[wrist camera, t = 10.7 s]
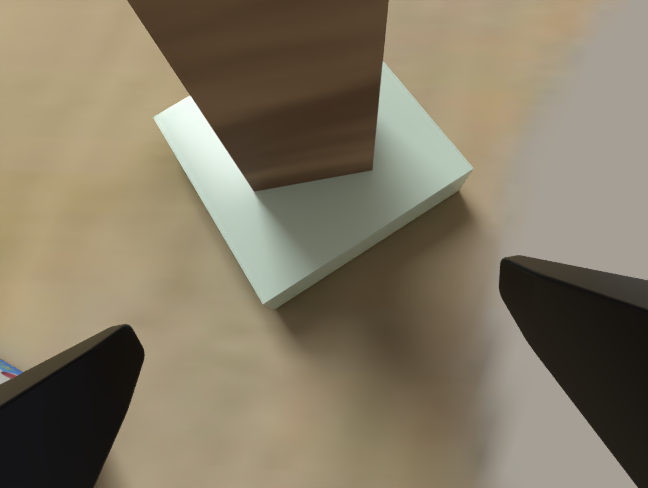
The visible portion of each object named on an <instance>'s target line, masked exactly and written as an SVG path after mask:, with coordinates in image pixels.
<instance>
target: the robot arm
mask: <svg viewBox="0 0 648 488" xmlns="http://www.w3.org/2000/svg"><path fill="white" fill-rule="evenodd" d="M499 291H500V295H501V297H502V299H503V301H504V303H505V305H506V306H507V308H508V310H509V311H510V313H511V315H512V317H513V318H514V320H515V322H516V323H517V325H518V327H519V329H520V330H521V332H522V334H523V336H524V337H525V339H526V340H527V342H528V344H529V345H530V346H531V347H532V349H533V350H534V352H535V353H536V355H537V356H538V357H539V358H540V360H541V361H542V362H543V363H544V365H545V366H546V368H547V369H548V370H549V371H550V373H551V374H552V375H553V377H554V378H555V379H556V381H557V382H558V383H559V385H560V386H561V387H562V388H563V390H564V391H565V393H566V394H567V395H568V396H569V398H570V399H571V400H572V402H573V403H574V404H575V406H576V407H577V408H578V410H579V411H580V412H581V414H582V415H583V416H584V417H585V419H586V420H587V421H588V423H589V424H590V425H591V427H592V428H593V429H594V431H595V432H596V433H597V435H598V436H599V437H600V438H601V440H602V441H603V442H604V444H605V445H606V446H607V448H608V449H609V450H610V451H611V453H612V454H613V456H614V457H615V458H616V459H617V461H618V462H619V463H620V465H621V466H622V467H623V469H624V470H625V471H626V473H627V474H628V475H629V476H630V478H631V479H632V480H633V482H634V483H635V484H636V485H637V487H638V488H648V280H643V279H638V278H633V277H628V276H622V275H618V274H612V273H608V272H602V271H598V270H592V269H587V268H582V267H576V266H572V265H567V264H562V263H557V262H552V261H547V260H541V259H536V258H531V257H526V256H521V255H517V256H511V257H505V258H503V259H502V260H501V263H500V276H499ZM144 356H145V354H144V349H143V346H142V345H141V343H140V341H139V339H138V337H137V336H136V334H135V332H134V330H133V329H132V327H131V326H130V325H128V324H123V325H117V326H112V327H110V328H108V329H106V330H104V331H102V332H100V333H98V334H96V335H94V336H92V337H90V338H88V339H87V340H85V341H83V342H81V343H79V344H77V345H75V346H73V347H71V348H69V349H67V350H65V351H63V352H62V353H60V354H58V355H56V356H54V357H52V358H50V359H48V360H46V361H44V362H42V363H40V364H39V365H37V366H35V367H33V368H31V369H29V370H27V371H25V372H23V373H21V374H19V375H17V376H15V377H14V378H12V379H10V380H8V381H6V382H4V383H2V384H0V488H94V486H95V484H96V481H97V479H98V477H99V475H100V472H101V470H102V468H103V466H104V463H105V461H106V459H107V457H108V454H109V452H110V450H111V447H112V445H113V443H114V441H115V438H116V436H117V434H118V432H119V429H120V427H121V425H122V423H123V420H124V418H125V415H126V413H127V411H128V408H129V405H130V402H131V399H132V396H133V393H134V390H135V387H136V383H137V380H138V377H139V374H140V371H141V368H142V365H143V361H144Z"/></svg>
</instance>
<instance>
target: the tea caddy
mask: <svg viewBox="0 0 648 488" xmlns="http://www.w3.org/2000/svg"><path fill="white" fill-rule="evenodd" d="M127 1H128V2H129V4H130V5H131V7H132V8H133V10H134V11H135V13H136V14H137V16H138V17H139V19H140V20H141V22H142V23H143V25H144V26H145V28H146V29H147V31H148V32H149V34H150V35H151V37H152V38H153V40H154V41H155V43H156V44H157V46H158V47H159V49H160V50H161V52H162V53H163V55H164V56H165V58H166V60H167V61H168V63H169V64H170V66H171V67H172V69H173V70H174V72H175V73H176V75H177V76H178V78H179V79H180V81H181V82H182V84H183V85H184V87H185V88H186V90H187V91H188V93H189V94H190V96H191V97H192V99H193V100H194V102H195V103H196V105H197V106H198V108H199V109H200V111H201V112H202V114H203V115H204V117H205V118H206V120H207V122H208V123H209V125H210V126H211V128H212V129H213V131H214V132H215V134H216V135H217V137H218V138H219V140H220V141H221V143H222V144H223V146H224V147H225V149H226V150H227V152H228V153H229V155H230V156H231V158H232V159H233V161H234V162H235V164H236V165H237V167H238V168H239V170H240V171H241V173H242V174H243V176H244V177H245V179H246V180H247V182H248V184H249V185H250V187H251V188H252V190H253V191H254V192H255V191H261V190H266V189H272V188H277V187H283V186H289V185H294V184H300V183H305V182H311V181H316V180H322V179H327V178H333V177H338V176H344V175H349V174H355V173H360V172H366V171H372V169H373V159H374V148H375V138H376V127H377V117H378V106H379V96H380V85H381V75H382V64H383V54H384V43H385V33H386V22H387V12H388V1H389V0H127Z"/></svg>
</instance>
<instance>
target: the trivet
mask: <svg viewBox="0 0 648 488" xmlns="http://www.w3.org/2000/svg"><path fill="white" fill-rule="evenodd" d="M153 118H154V120H155V121H156V123H157V125H158V127H159V128H160V130H161V132H162V133H163V135H164V137H165V138H166V140H167V142H168V144H169V145H170V147H171V149H172V150H173V152H174V154H175V155H176V157H177V159H178V161H179V162H180V164H181V166H182V167H183V169H184V171H185V172H186V174H187V176H188V178H189V179H190V181H191V183H192V184H193V186H194V188H195V190H196V191H197V193H198V195H199V196H200V198H201V200H202V201H203V203H204V205H205V207H206V208H207V210H208V212H209V213H210V215H211V217H212V218H213V220H214V222H215V224H216V225H217V227H218V229H219V230H220V232H221V234H222V235H223V237H224V239H225V241H226V242H227V244H228V246H229V247H230V249H231V251H232V252H233V254H234V256H235V258H236V259H237V261H238V263H239V264H240V266H241V268H242V269H243V271H244V273H245V275H246V276H247V278H248V280H249V281H250V283H251V285H252V286H253V288H254V290H255V292H256V293H257V295H258V297H259V298H260V300H261V302H262V304H263V305H266V306H268V307H270V308H272V309H276V308H278V307H280V306H281V305H283V304H284V303H286V302H287V301H289V300H290V299H292V298H293V297H295V296H297V295H298V294H300V293H301V292H303V291H304V290H306V289H307V288H309V287H310V286H312V285H314V284H315V283H317V282H318V281H320V280H321V279H323V278H324V277H326V276H327V275H329V274H331V273H332V272H334V271H335V270H337V269H338V268H340V267H341V266H343V265H344V264H346V263H348V262H349V261H351V260H352V259H354V258H355V257H357V256H358V255H360V254H361V253H363V252H365V251H366V250H368V249H369V248H371V247H372V246H374V245H375V244H377V243H378V242H380V241H382V240H383V239H385V238H386V237H388V236H389V235H391V234H392V233H394V232H395V231H397V230H399V229H400V228H402V227H403V226H405V225H406V224H408V223H409V222H411V221H412V220H414V219H416V218H417V217H419V216H420V215H422V214H423V213H425V212H426V211H428V210H429V209H431V208H433V207H434V206H436V205H437V204H439V203H440V202H442V201H443V200H445V199H446V198H448V197H450V196H451V195H453V194H454V193H456V192H457V191H459V190H460V188H461V187H462V185H463V184H464V182H465V181H466V179H467V178H468V176H469V175H470V173H471V172H472V170H473V169H474V168H473V167H472V166H471V165H470V164H469V162H468V161H467V160H466V159H465V158H464V157H463V155H462V154H461V153H460V152H459V151H458V149H457V148H456V147H455V146H454V145H453V143H452V142H451V141H450V140H449V139H448V138H447V136H446V135H445V134H444V133H443V132H442V130H441V129H440V128H439V127H438V126H437V124H436V123H435V122H434V121H433V120H432V119H431V117H430V116H429V115H428V114H427V113H426V111H425V110H424V109H423V108H422V107H421V105H420V104H419V103H418V102H417V101H416V99H415V98H414V97H413V96H412V95H411V94H410V92H409V91H408V90H407V89H406V88H405V86H404V85H403V84H402V83H401V82H400V80H399V79H398V78H397V77H396V76H395V75H394V73H393V72H392V71H391V70H390V69H389V67H388V66H387V65H386V64H385V63H384V61H383V64H382V75H381V85H380V96H379V106H378V117H377V127H376V138H375V148H374V159H373V169H372V171H366V172H360V173H355V174H349V175H344V176H338V177H333V178H327V179H322V180H316V181H311V182H305V183H300V184H294V185H289V186H283V187H277V188H272V189H266V190H261V191H255V192H254V191H253V190H252V188H251V187H250V185H249V184H248V182H247V180H246V179H245V177H244V176H243V174H242V173H241V171H240V170H239V168H238V167H237V165H236V164H235V162H234V161H233V159H232V158H231V156H230V155H229V153H228V152H227V150H226V149H225V147H224V146H223V144H222V143H221V141H220V140H219V138H218V137H217V135H216V134H215V132H214V131H213V129H212V128H211V126H210V125H209V123H208V122H207V120H206V118H205V117H204V115H203V114H202V112H201V111H200V109H199V108H198V106H197V105H196V103H195V102H194V100H193V99H192V97H191V96H188V97H187V98H185V99H183V100H182V101H180V102H178V103H176V104H175V105H173V106H171V107H170V108H168V109H166V110H165V111H163V112H161V113H159V114H158V115H156V116H154V117H153Z"/></svg>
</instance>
